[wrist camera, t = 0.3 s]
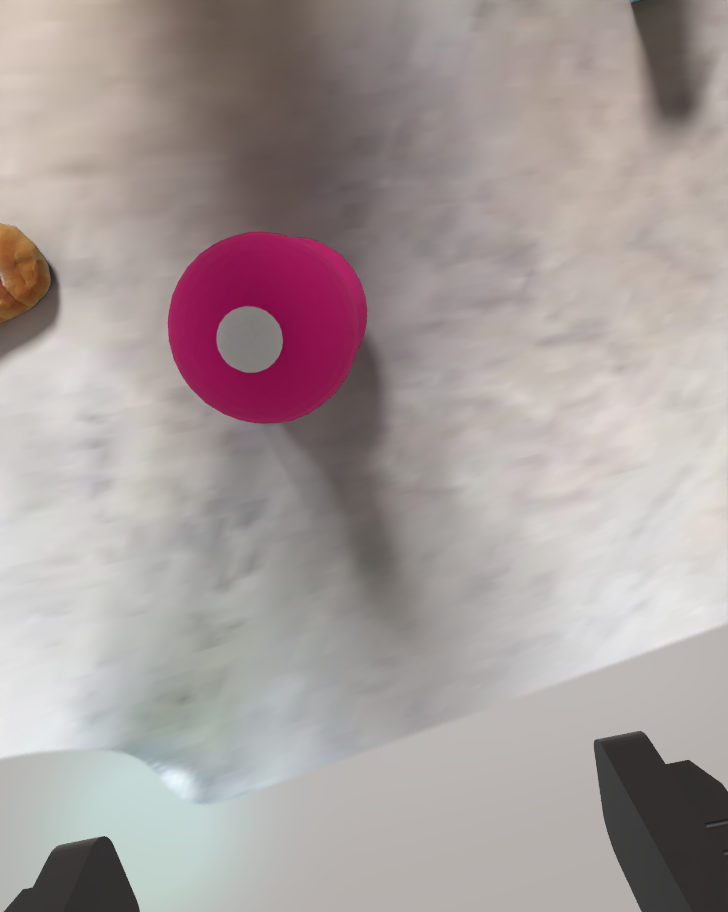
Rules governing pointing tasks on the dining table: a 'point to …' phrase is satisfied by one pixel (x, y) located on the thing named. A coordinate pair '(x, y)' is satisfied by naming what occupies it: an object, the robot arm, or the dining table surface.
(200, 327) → the pepper mill
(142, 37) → the dining table surface
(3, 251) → the pastry
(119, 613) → the dining table surface
